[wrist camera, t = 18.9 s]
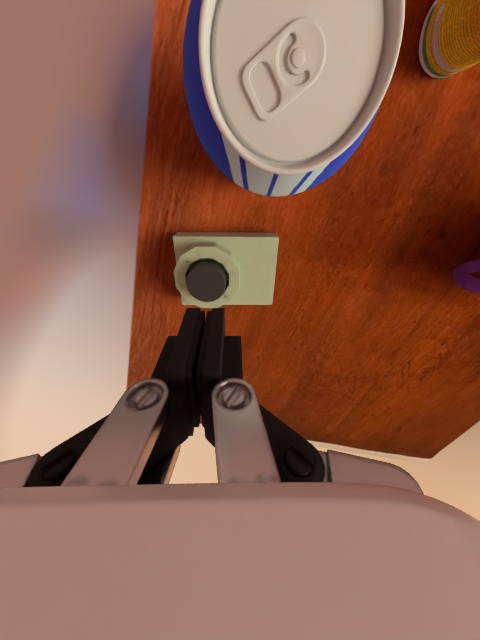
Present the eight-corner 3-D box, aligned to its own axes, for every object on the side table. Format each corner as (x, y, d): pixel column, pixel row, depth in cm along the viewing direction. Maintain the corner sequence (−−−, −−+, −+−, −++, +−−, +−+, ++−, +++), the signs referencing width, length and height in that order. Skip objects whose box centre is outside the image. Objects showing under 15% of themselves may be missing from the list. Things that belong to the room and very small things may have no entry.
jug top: (185, 296, 30) (178, 312, 26) (176, 231, 25) (168, 240, 22) (269, 296, 30) (274, 312, 26) (275, 232, 26) (282, 241, 22)
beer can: (212, 61, 18) (154, -257, 5) (314, 75, 19) (510, -174, 6) (210, 182, 23) (175, 189, 9) (292, 190, 23) (371, 210, 10)
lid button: (190, 295, 26) (188, 302, 24) (186, 259, 23) (183, 265, 22) (226, 295, 26) (226, 302, 24) (225, 259, 24) (225, 265, 22)
